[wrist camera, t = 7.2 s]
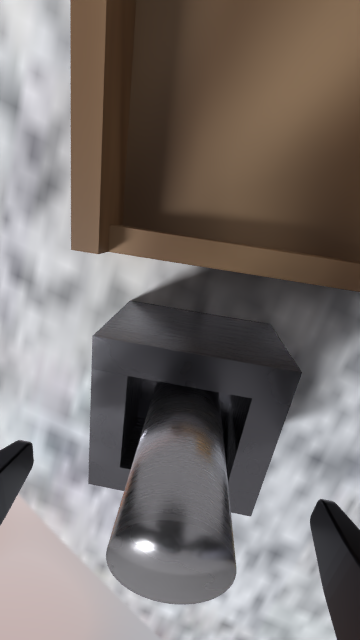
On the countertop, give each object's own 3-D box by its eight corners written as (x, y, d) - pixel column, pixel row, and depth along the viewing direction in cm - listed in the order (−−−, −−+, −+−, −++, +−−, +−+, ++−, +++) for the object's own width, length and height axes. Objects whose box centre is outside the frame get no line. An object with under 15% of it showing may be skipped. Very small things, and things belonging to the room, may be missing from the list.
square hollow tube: (270, 324, 13) (302, 372, 8) (238, 435, 15) (250, 516, 11) (130, 300, 13) (92, 336, 9) (121, 413, 15) (88, 483, 11)
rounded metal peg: (223, 366, 12) (249, 536, 5) (212, 418, 13) (222, 613, 6) (159, 356, 12) (108, 510, 5) (153, 408, 13) (104, 591, 6)
